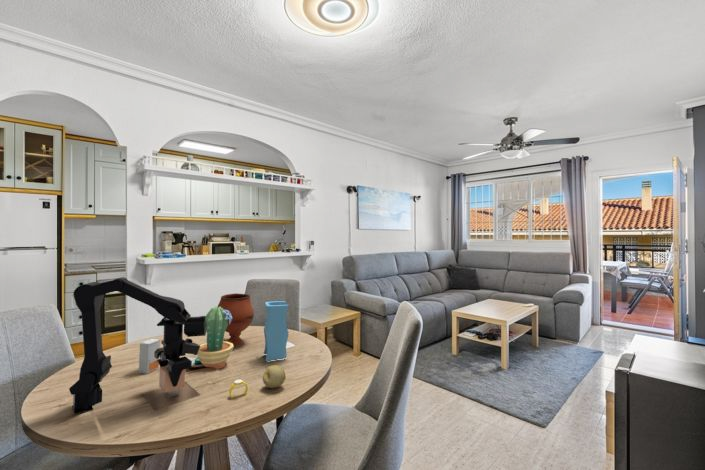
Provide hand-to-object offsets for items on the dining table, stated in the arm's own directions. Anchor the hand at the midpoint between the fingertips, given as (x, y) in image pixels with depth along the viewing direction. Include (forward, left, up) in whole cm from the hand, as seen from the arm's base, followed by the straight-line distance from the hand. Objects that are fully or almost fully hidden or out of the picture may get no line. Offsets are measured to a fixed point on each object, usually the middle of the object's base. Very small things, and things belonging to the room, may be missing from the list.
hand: (171, 383), depth 108 cm
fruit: (+29, -18, -5) cm, 35 cm away
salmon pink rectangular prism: (0, 0, -1) cm, 1 cm away
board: (0, 0, -5) cm, 5 cm away
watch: (+16, -16, -5) cm, 23 cm away
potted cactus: (+22, +17, -5) cm, 28 cm away
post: (0, 0, -4) cm, 4 cm away
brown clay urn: (+41, +37, -5) cm, 55 cm away
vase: (+46, +7, -5) cm, 47 cm away
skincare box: (+1, +30, -5) cm, 30 cm away
